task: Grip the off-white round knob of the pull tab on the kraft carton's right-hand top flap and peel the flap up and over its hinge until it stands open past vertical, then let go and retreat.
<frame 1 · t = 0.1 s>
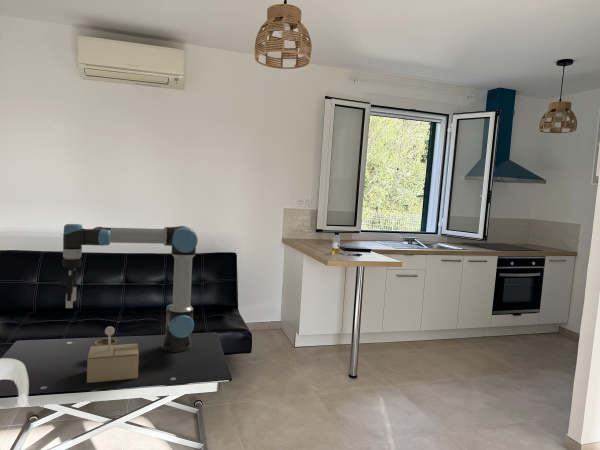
hand: (70, 304, 199), 28 cm above the table, fingers open, 13 cm apart
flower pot: (105, 359, 209), on the table
carton: (113, 374, 192), on the table
flap: (102, 339, 190), point 16 cm above the table, hinge at 0.0°
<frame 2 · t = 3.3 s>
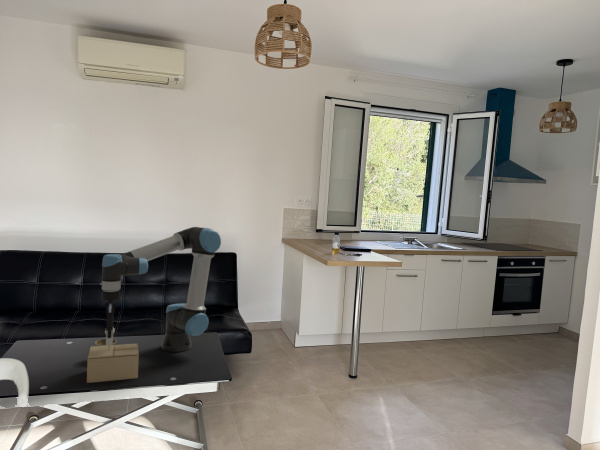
hand: (109, 342, 191), 14 cm above the table, fingers closed on flap, 4 cm apart
flap: (102, 339, 190), point 16 cm above the table, hinge at 0.0°, touching gripper
everything else where it was.
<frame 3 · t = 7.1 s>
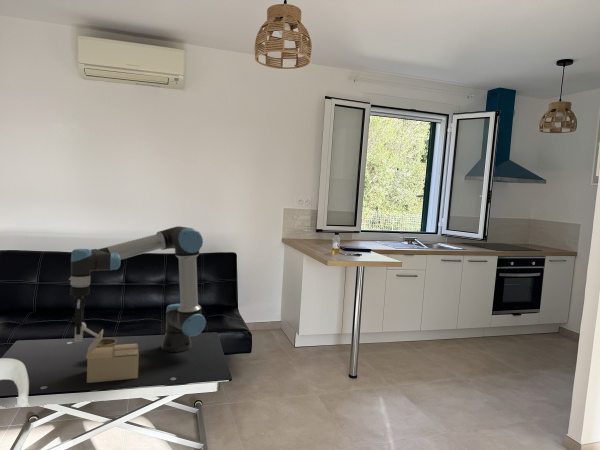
hand: (78, 339, 186), 16 cm above the table, fingers closed on flap, 4 cm apart
flap: (84, 336, 187), point 18 cm above the table, hinge at 55.7°, touching gripper
everything else where it was.
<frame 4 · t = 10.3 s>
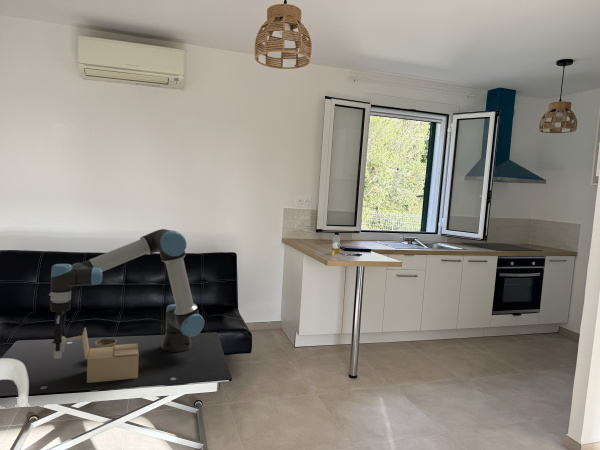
hand: (59, 354, 184), 10 cm above the table, fingers open, 7 cm apart
flap: (71, 345, 186), point 14 cm above the table, hinge at 99.6°
everything else where it was.
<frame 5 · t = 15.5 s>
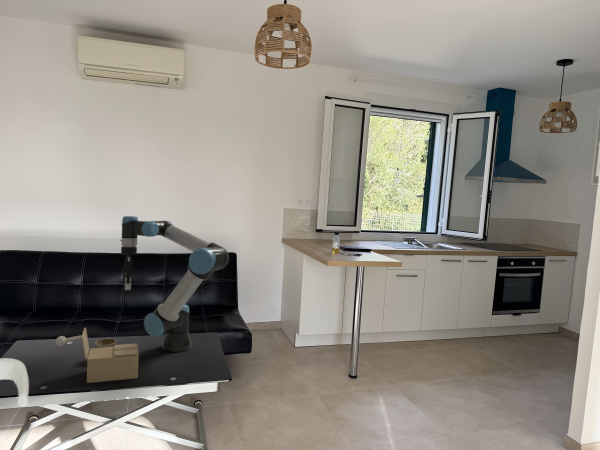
hand: (127, 287, 225), 32 cm above the table, fingers open, 13 cm apart
nothing on the table moved.
at the end: flap at +100° (first picture: +0°); the gripper is holding nothing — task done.
